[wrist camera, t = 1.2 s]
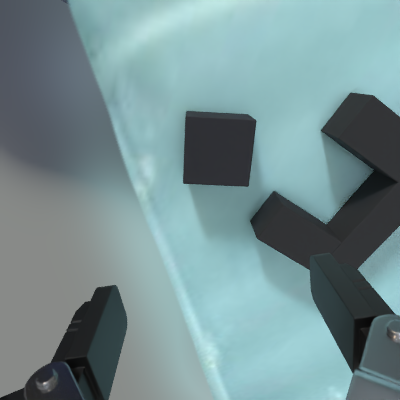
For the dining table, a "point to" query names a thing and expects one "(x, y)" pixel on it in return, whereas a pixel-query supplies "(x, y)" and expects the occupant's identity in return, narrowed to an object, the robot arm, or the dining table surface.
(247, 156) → the small black block
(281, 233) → the large dark u-shaped block
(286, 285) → the dining table surface
